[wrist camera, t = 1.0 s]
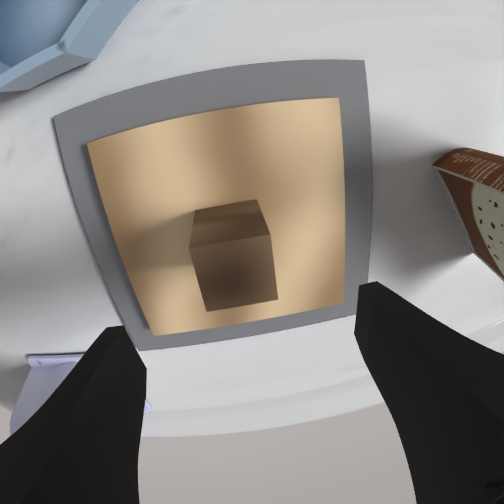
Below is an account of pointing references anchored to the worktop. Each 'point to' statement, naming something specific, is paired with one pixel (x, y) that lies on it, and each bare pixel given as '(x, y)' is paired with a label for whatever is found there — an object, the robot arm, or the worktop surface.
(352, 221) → the mat
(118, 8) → the bowl
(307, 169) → the lid
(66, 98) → the worktop surface
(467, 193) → the food container
